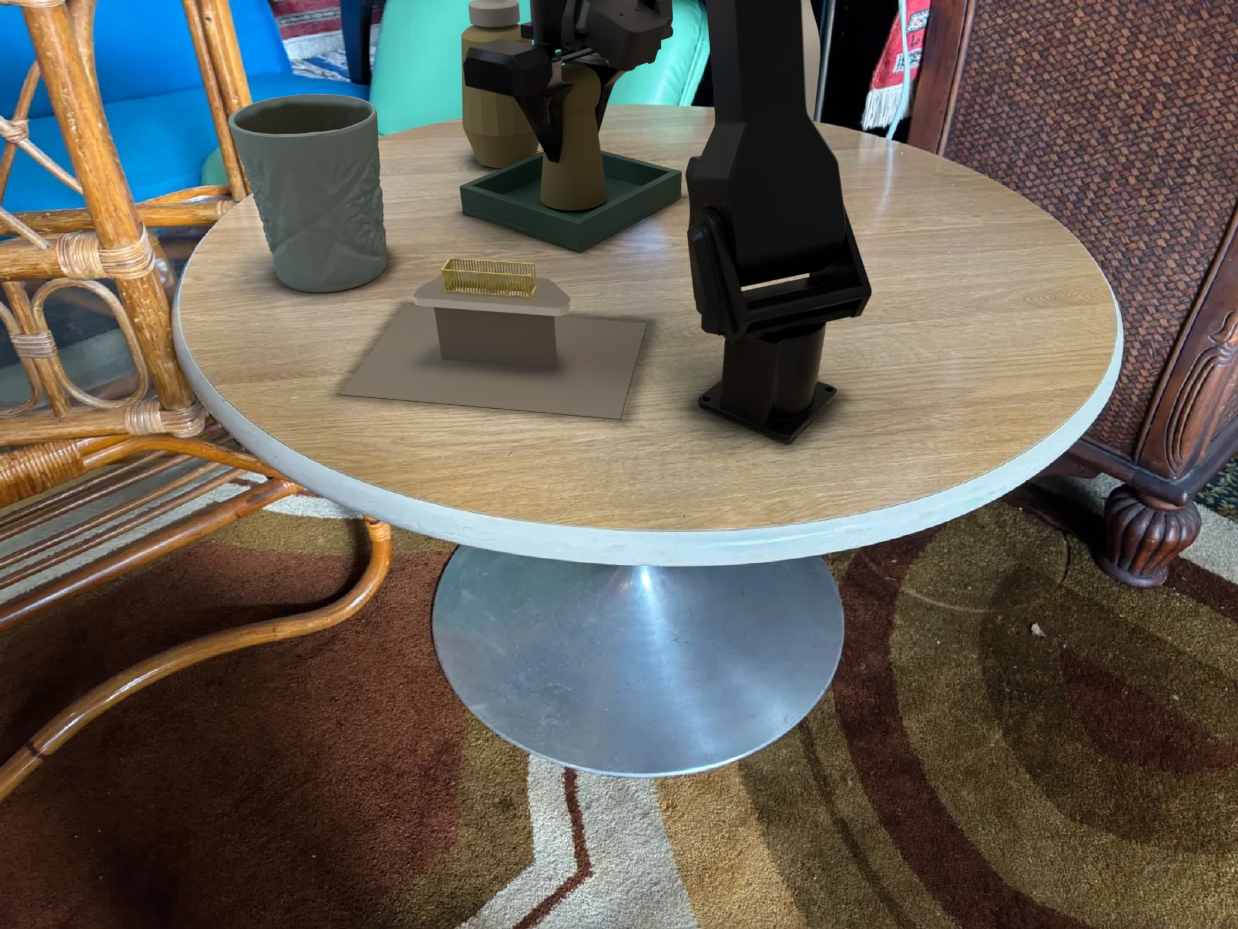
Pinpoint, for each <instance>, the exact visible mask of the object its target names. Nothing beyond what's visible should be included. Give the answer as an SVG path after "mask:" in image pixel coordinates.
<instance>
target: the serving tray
mask: <svg viewBox="0 0 1238 929" xmlns="http://www.w3.org/2000/svg"><path fill="white" fill-rule="evenodd" d="M543 152H544V151H543V150H542V151H540V152H537V154H536V155H533V156H531V157H529V158H526V159H524V160H521V161H519V162H517V163H514V164H512V165H509V166H507V167H504V168H499V169H498V170H495V171H492V172H490V173H487V174H486V175H483V176H479V177H478V178H476V179H473V180H471V181H469V182H466V183H463V184H461V185H459V193H460V203H461V212H462V214H464V215H466V216H470V217H473V218H476V219H479V220H482V221H485V222H488V223H490V224H494V225H496V226H499V227H503V228H506V229H509V230H511V231H515V232H517V233H521V234H524V235H526V236H529V237H533V238H536V239H539V240H542V241H545V242H548V243H550V244H553V245H557V246H559V247H562V248H565V249H568V250H572V251H574V252H577V253H582V252H584V251H585V250H587V249H589V248H592V247H593V246H595V245H597V244H599V243H601V242H603V241H604V240H607V238H609V237H611V236H613V235H616V234H617V233H619V232H621V231H622V230H624V229H626V228H629V227H630V226H632V225H633V224H636V223H637V222H639V221H641V220H643V219H645V218H647V217H648V216H650V215H652V214H654V213H656V212H658V211H659V210H661V209H663V208H665V207H667V206H668V205H670V204H673V203H674V202H676V201H678V200H680V199H681V198H682V184H683V182H682V181H683V171H682V170H679V169H675V168H671V167H666V166H663V165H659V164H656V163H653V162H648V161H644V160H640V159H636V158H632V157H628V156H625V155H620V154H617V153H613V152H611V151H610V152H608V151H605V150H602V149H601V156H602V162H603V169H604V176H605V183H606V190H607V200H606V201H605V202H604V203H603V204H601V205H599V206H597V207H593V208H589V209H584V210H561V209H555V208H552V207H549V206H547V205H545V204H543V203H542V201H541V199H540V195H541V181H542V167H543Z"/></svg>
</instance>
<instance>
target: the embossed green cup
mask: <svg viewBox="0 0 1238 929" xmlns="http://www.w3.org/2000/svg"><path fill="white" fill-rule="evenodd" d="M227 120H228V121H227V124H228V127H229V129H230V133H231V136H232V138H233V141H234V144H235V147H236V150H237V153H238V156H239V159H240V161H241V163H242V166H243V171H244V174H245V178H246V179H247V181H248V182H249V183H248V188H249V190H250V191H251V193H252V199H253V200H254V204H255V207H256V208H257V211H258V215H259V216H258V217H259V218H260V221H261V222H262V229H263V232H264V236H265V240H266V242H267V245H268V249H269V252H271V254H272V263H273V266H274V270H275V272H276V275H277V277H278V279H279V280H280V282H281V283H282V284H283V285H284V286H286V287H288V288H290V289H293V290H296V291H300V292H308V293H332V292H340V291H345V290H350V289H353V288H357V287H360V286H363V285H365V284H367V283H369V282H372V281H374V280H375V279H376V278H378V277H380V276H381V275H382V274H383V273H384V272H385V271H386V268H387V266H388V259H389V258H388V248H387V247H388V246H387V234H386V228H385V226H384V221H385V219H384V217H385V214H384V202H383V196H384V195H383V194H384V193H383V189H382V187H381V179H380V176H381V158H380V147H379V143H380V142H379V140H380V139H379V123H378V111H377V109H376V107H375V105H373V104H372V103H371V102H370V101H368V100H365V99H362V98H360V97H356V96H350V95H343V94H329V93H308V94H293V95H285V96H284V95H283V96H278V97H271V98H267V99H263V100H259V101H256V102H253V103H249V104H247V105H245V106H242V107H240V108H238V109H236V110H235V111H233V112H232V113H231V115H230V116H229V117H228V119H227Z"/></svg>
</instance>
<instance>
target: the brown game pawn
mask: <svg viewBox="0 0 1238 929" xmlns="http://www.w3.org/2000/svg"><path fill="white" fill-rule="evenodd" d="M561 71H562V82H567V83H571V84H574V87H573V89H572V90H571V91H570V93H569V94H568V95H567V97H566V98H565V99H564V101H563V144H562V150H561V155H560V160H559V163H554V162H550V161H549V160H548V158H547V156H546V154H545V152H543V151H542V152H543V167H542V181H541V195H540V199H541V201H542V203H543V204H545V205H547V206H549V207H552V208H555V209H561V210H584V209H589V208H593V207H597V206H599V205H601V204H603V203H604V202H605V201H606V200H607V190H606V183H605V176H604V169H603V162H602V156H601V150H602V149H601V144H600V143H601V142H600V136H599V134H598V129H597V122H596V115H595V107H596V106H597V104H598V103H599V98H600V94H601V84H600V80H599V77H598V76H597V74H596V72H595V71H594V70H592V69H591V68H589V67H586V66H582V65H574V64H567V65H565V64H561Z"/></svg>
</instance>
